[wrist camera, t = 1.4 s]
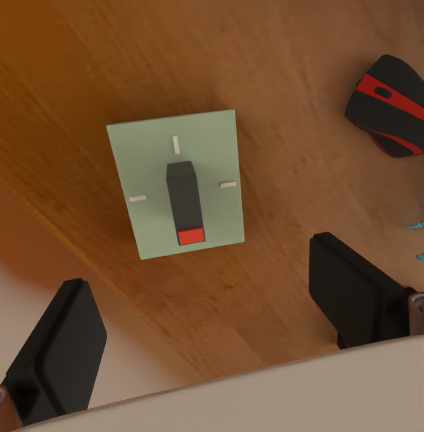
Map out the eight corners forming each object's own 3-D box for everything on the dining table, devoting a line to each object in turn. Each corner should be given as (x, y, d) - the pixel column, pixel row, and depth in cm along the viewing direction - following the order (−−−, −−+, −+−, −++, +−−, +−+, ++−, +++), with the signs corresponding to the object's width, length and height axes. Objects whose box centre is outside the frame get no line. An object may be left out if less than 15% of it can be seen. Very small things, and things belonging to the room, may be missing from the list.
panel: (113, 123, 22) (105, 125, 20) (227, 109, 23) (235, 109, 20) (143, 244, 27) (140, 261, 24) (237, 228, 28) (245, 242, 25)
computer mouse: (372, 47, 23) (410, 36, 20) (445, 111, 26) (489, 112, 23) (330, 114, 25) (357, 115, 21) (403, 166, 28) (438, 175, 24)
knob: (166, 164, 21) (165, 180, 17) (191, 160, 22) (196, 175, 17) (177, 219, 23) (178, 247, 19) (199, 215, 24) (206, 243, 19)
